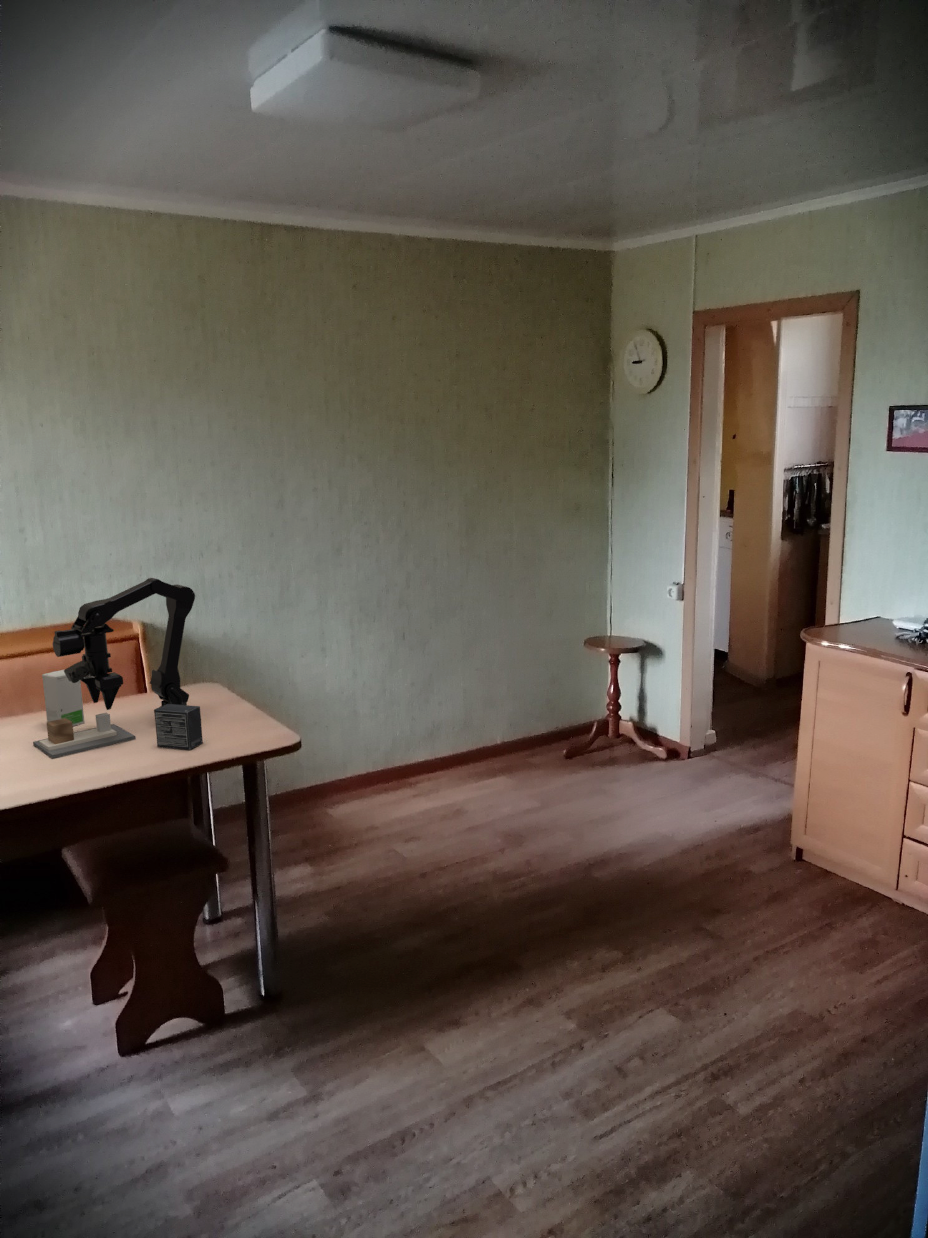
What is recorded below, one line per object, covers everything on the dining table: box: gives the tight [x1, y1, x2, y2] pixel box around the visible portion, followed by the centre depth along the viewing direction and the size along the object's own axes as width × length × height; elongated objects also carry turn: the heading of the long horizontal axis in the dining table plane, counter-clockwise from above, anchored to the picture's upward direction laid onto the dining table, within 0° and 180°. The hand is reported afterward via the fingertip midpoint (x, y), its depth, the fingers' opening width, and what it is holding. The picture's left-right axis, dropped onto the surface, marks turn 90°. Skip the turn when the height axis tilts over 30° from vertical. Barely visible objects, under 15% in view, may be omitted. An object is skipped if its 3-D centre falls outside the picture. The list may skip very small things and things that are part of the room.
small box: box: [153, 704, 204, 751], centre depth 255 cm, size 11×6×10 cm, turn 71°
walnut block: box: [45, 718, 74, 744], centre depth 256 cm, size 5×5×5 cm
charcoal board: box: [32, 723, 136, 760], centre depth 260 cm, size 22×15×1 cm
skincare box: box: [41, 669, 85, 727], centre depth 275 cm, size 8×7×16 cm
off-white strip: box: [39, 712, 117, 751], centre depth 259 cm, size 18×7×6 cm, turn 131°
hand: (102, 706), depth 262 cm, fingers open, 9 cm apart
